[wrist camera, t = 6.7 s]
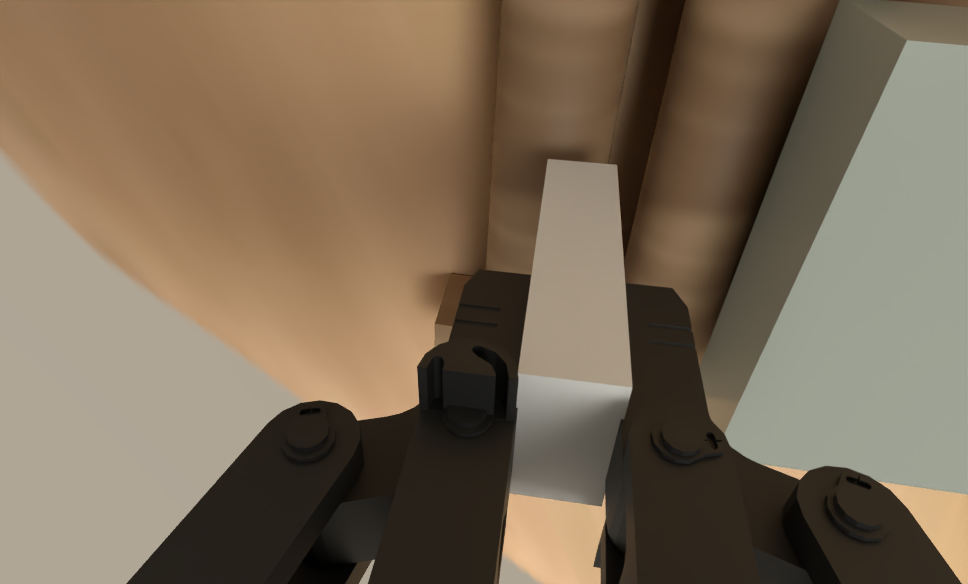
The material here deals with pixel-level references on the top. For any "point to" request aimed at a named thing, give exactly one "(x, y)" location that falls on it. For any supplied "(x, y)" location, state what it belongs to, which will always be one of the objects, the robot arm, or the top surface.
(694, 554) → the robot arm
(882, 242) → the stone slab
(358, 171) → the top surface
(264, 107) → the top surface
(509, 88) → the roller bed
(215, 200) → the top surface
